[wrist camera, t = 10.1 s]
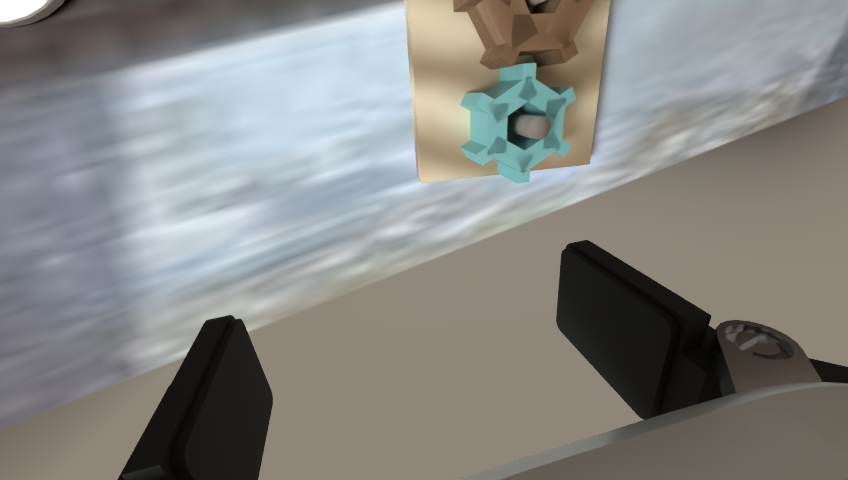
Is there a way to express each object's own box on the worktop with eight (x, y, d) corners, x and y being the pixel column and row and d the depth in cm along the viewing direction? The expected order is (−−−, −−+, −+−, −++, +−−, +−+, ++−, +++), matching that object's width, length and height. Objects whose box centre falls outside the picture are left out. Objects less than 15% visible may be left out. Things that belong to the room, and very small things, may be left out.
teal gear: (458, 70, 27) (476, 66, 23) (551, 64, 28) (580, 60, 25) (460, 176, 30) (476, 188, 27) (542, 167, 31) (568, 177, 28)
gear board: (400, -56, 25) (418, -108, 18) (600, -57, 27) (677, -103, 21) (417, 178, 32) (434, 198, 25) (577, 160, 34) (629, 175, 28)
